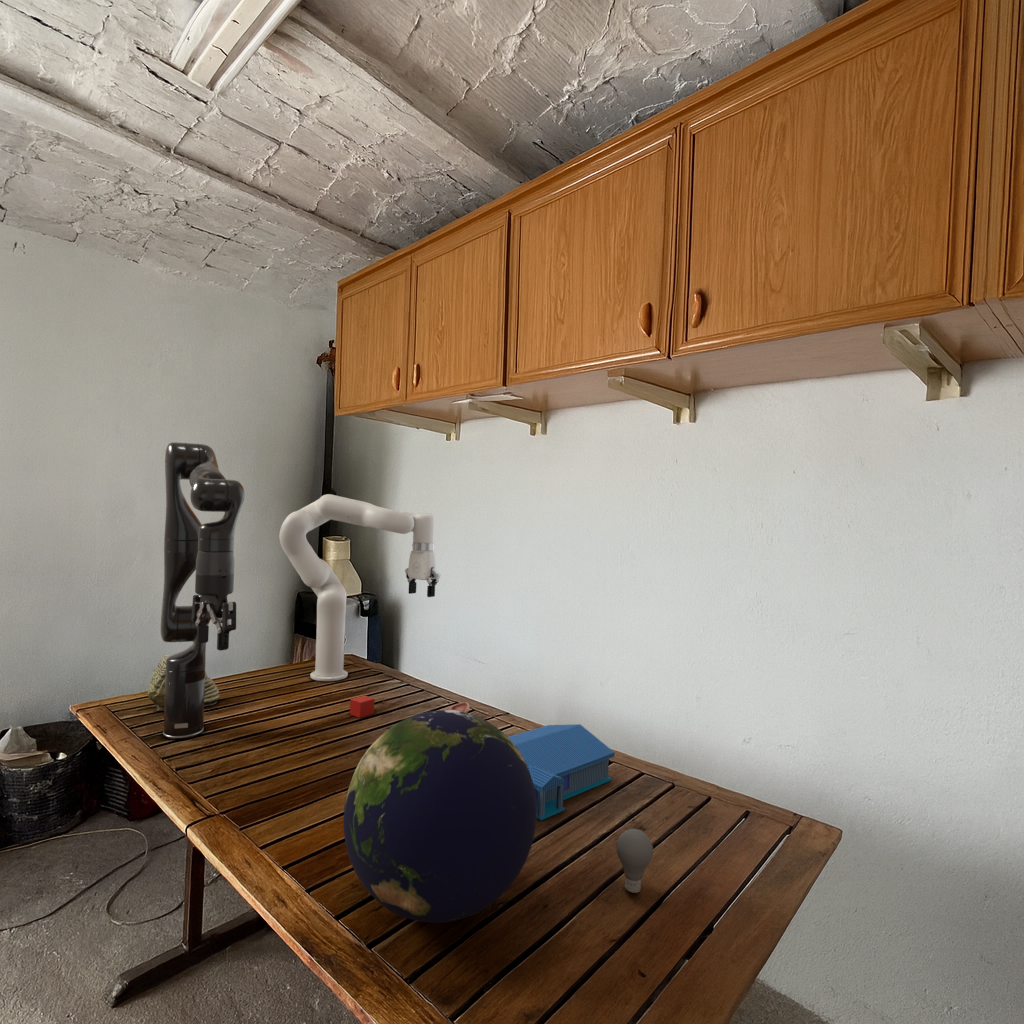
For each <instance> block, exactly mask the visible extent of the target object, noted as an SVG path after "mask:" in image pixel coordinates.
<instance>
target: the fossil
mask: <svg viewBox="0 0 1024 1024" xmlns="http://www.w3.org/2000/svg"><path fill="white" fill-rule="evenodd" d="M171 655H172V654H165V655H164V656H163V657H162V658H161V659H160V660H159V662H158V663H157V666H156V667H155V669H154V670H153V672H152V675H151V677H150V680H149V684H148V688H147V697H148V699H149V700H150V701H152V703H153V704H154V706H155V711H158V712H159V711H162V712H163V711H164V705H165V674H166V660H167V658H168V657H169V656H171ZM220 698H221V696H220V690H219V688H218V686H217V685H216V683H215V682H214V681H213V679H212V678H211V677H209V675H208V674H207V672H206V671H205V693H204V707H207V706H213V705H215V704H217V703H218V701H219V699H220Z"/></svg>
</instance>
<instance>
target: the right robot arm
mask: <svg viewBox="0 0 1024 1024" xmlns="http://www.w3.org/2000/svg"><path fill="white" fill-rule="evenodd" d="M331 520H332V521H337V522H342V523H347V524H351V525H355V526H361V527H364V528H373V529H377V530H382V531H385V532H386V531H387V532H390V533H396V534H401V535H406V534H407V535H408V534H409V533H412V545H411V546H412V550H410V554H409V558H408V567H407V568H405V569H404V572H405V577H406V579H407V583H408V594H410V595H412V594H416V593H417V580H419V581H426V583H427V584H428V585H427V590H426V593H427V594H426V597H427V598H433V597H435V596H436V586H437V585H438V582H439V581H440V578H441V573H440V572H438V571H437V568H436V567H437V565H436V554H435V529H436V527H435V525H436V518H435V514H432V513H428V512H427V513H426V512H417V513H413V512H406V511H399V510H395V509H390V508H385V507H381V506H379V505H375V504H373V503H370V502H367V501H363V500H358V499H353V498H349V497H345V496H339V495H335V494H331V493H327V494H323V495H322V496H320V497H319V498H318V499H316V500H315V501H313V502H311V503H309V504H307V505H305V506H303V507H302V508H300V509H298V510H296V511H295V510H294V511H292V512H291V513H289V514H288V515H287V516H286V517H285V519H284V520H283V522H282V524H281V526H280V530H279V538H278V539H279V543H280V546H281V548H282V551H283V553H284V554H285V556H286V557H287V560H289V562H290V563H291V565H292V567H293V568H294V570H295V572H296V573H297V574H298V576H299V577H300V578H301V581H302V582H303V584H304V585H305V586H307V587H308V588H310V589H311V590H312V591H313V592H314V594H315V595H316V597H317V601H316V636H315V638H316V640H315V664H314V671H312V672H311V673H310V675H309V676H310V677H309V678H310V679H312V680H314V681H317V682H335V681H343V680H345V679H346V678H347V677H348V676H349V673H348V671H347V670H345V669H344V665H345V663H344V662H345V642H346V641H345V639H346V615H347V614H346V612H347V598H348V597H347V591H346V589H345V586H344V585H343V584H342V583H341V581H340V580H339V578H338V576H337V575H336V573H335V572H334V571H333V569H332V568H331V566H330V565H329V563H327V561H325V560H324V559H322V558H320V557H319V556H318V554H317V553H316V551H315V550H314V548H313V547H312V545H311V544H310V543H309V541H308V539H307V534H308V533H309V532H311V531H314V529H317V528H318V527H320V526H322V525H323V524H325V523H327V522H330V521H331Z"/></svg>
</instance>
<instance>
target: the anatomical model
mask: <svg viewBox="0 0 1024 1024" xmlns="http://www.w3.org/2000/svg"><path fill="white" fill-rule="evenodd" d="M438 710H439V709H438ZM438 710H436V711H438ZM440 710H456V711H461V712H464V713H469V711H470V704H469V703H468V702H467V701H465V702H459V703H456V704H452V705H448V706H446V707H444V708H441V709H440Z"/></svg>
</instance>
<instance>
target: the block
mask: <svg viewBox="0 0 1024 1024" xmlns="http://www.w3.org/2000/svg"><path fill="white" fill-rule="evenodd" d="M374 714H375V698H373V697H371V696H368V695H364V694H363V695H361V696H357V697H353V698H350V701H349V715H351V716H353V717H356V718H359V719H361V718H364V717H368V716H371V715H374Z"/></svg>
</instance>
